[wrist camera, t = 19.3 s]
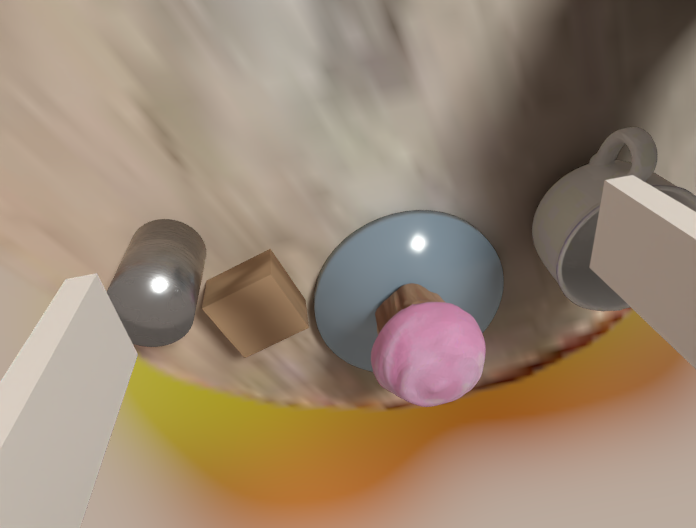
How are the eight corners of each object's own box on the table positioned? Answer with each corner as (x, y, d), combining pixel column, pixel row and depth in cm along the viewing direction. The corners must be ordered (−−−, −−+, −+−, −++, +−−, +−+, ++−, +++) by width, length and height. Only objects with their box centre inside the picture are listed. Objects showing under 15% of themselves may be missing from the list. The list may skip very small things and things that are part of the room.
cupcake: (339, 319, 42) (358, 407, 34) (399, 244, 39) (436, 322, 31) (416, 353, 46) (450, 441, 37) (476, 288, 43) (528, 368, 34)
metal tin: (196, 214, 36) (180, 271, 30) (213, 275, 39) (203, 339, 33) (120, 225, 36) (87, 285, 29) (144, 285, 39) (119, 352, 32)
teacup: (613, 257, 45) (675, 309, 38) (503, 265, 43) (546, 320, 37) (668, 104, 37) (757, 135, 31) (538, 107, 36) (600, 141, 29)
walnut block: (270, 247, 39) (270, 274, 36) (305, 298, 42) (308, 327, 39) (207, 279, 40) (201, 308, 36) (246, 327, 43) (244, 358, 40)
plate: (506, 196, 40) (512, 202, 39) (490, 349, 49) (495, 357, 48) (301, 226, 38) (302, 233, 37) (325, 377, 47) (326, 386, 46)
